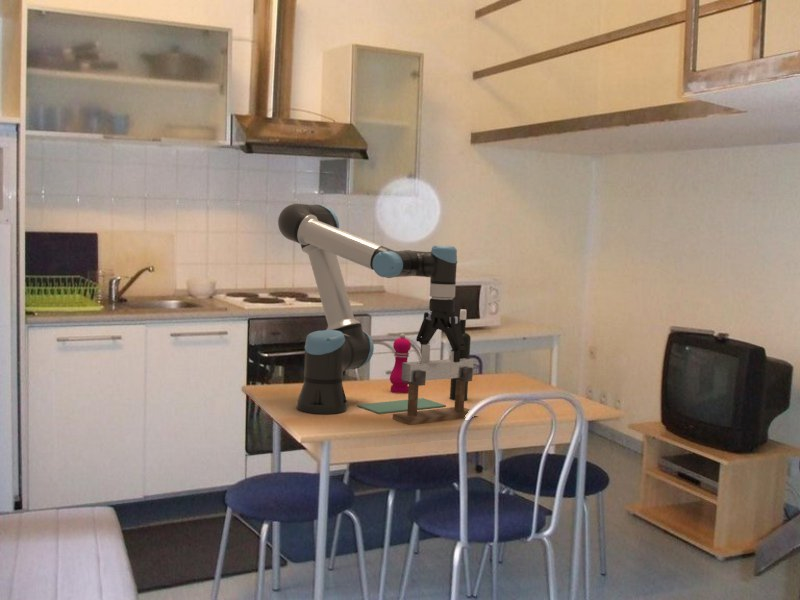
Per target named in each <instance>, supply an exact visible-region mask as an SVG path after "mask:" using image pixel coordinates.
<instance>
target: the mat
mask: <svg viewBox="0 0 800 600" xmlns="http://www.w3.org/2000/svg"><path fill="white" fill-rule="evenodd" d="M356 407H357V408H361V409H364V410H366V411H370V412H371V413H375V414H378V415H382V414H395V413H404V412H407V411H408V399H401V400H390V401H380V402H371V403H360V404H356ZM440 408H447V405H446V404H445V403H444V404H443V403H440V402H437V401H433V400H430V399H427V398H424V397H418V404H417V411H422V410H431V409H440Z"/></svg>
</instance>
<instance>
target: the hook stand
mask: <svg viewBox="0 0 800 600" xmlns="http://www.w3.org/2000/svg"><path fill="white" fill-rule="evenodd" d="M472 375H473V376H474V367H473V368H471V367H469V368H463V377H462V378H453V379H456V391H455V400H454V406H452V407H441V408H432V409H423V410H417V404H418V398H419V387H420V386H426V381H425V380H426V371H417V372H416V374H415V382H408V381H405V380H403V381H402V382H405V383H409V384H408V386H409V392H408V393H407V395H408V397H407V400H408V411H405V412H396V413H392V420H395V421H397V422H399V423H402V424H406V425H409V426H410V425H420V424H426V423H434V422H435V423H436V422H443V421H451V420H452V421H453V420H460V419H465V418H464V417H465V415H466V414H467V413H468V411H469V410H470V408H468V407H467V408H466V407H465V400H464V396H465V382H467V381H468V382H472V381H473V377H472Z"/></svg>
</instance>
